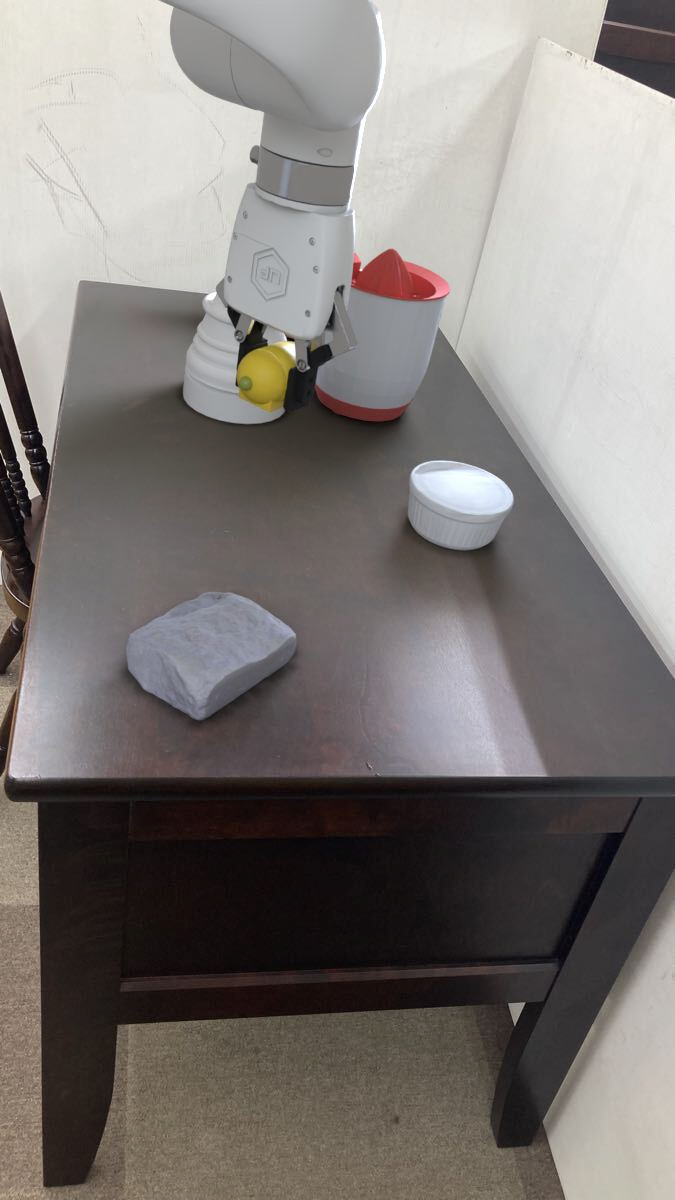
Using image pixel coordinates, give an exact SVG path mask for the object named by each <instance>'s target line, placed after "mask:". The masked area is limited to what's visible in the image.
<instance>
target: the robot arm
mask: <svg viewBox="0 0 675 1200" xmlns="http://www.w3.org/2000/svg"><path fill="white" fill-rule="evenodd" d="M158 1H159V2H161V3H164V4H166V5H169V6H171V7H172V12H171V16H170V23H169V37H170V39H169V40H170V44H171V49H172V53H173V55H174V58H175V61H176V63H177V65H178V67H179V68H180V69H181V71H182V73H183V74H184V75H185V76H186V78H187V79H188V80H189V81H190V82H191V83H192V84H193V85H195V86H196V87H197V88H198V89H200V90H201V91H203V92H205V93H206V94H209V95H211V96H213V97H215V98H217V99H220V100H223V101H225V102H229V103H231V104H235V105H238V106H241V107H244V108H247V109H250V110H253V111H258V112H261V113H263V116H262V117H263V118H262V126H261V133H260V134H261V135H260V141H259V142H260V143H259V145H258V144H255V145H253V146H252V147H251V149H250V152H249V161H250V162H251V163H253V164H255V165H256V166H257V167H256V173H255V182H250V183H247V184H246V186H245V189H244V191H243V195H242V198H241V200H240V203H239V206H238V209H237V213H236V217H235V221H234V225H233V229H232V233H231V238H230V242H229V248H228V253H227V259H226V265H225V272H224V277H223V278H222V279H221V280H220V281H219V282H218V284H216V286H215V292H217V294H218V296H219V298H220V299H221V301H222V303H223V304H224V306H225V308H227V313H228V316H229V318H230V320H231V322H232V324H233V326H234V328H235V332H234V337H235V339H236V341H237V342H239V343H240V344H239V353H238V361H237V370H238V366H239V364H240V362H241V360H242V359H243V358H244V357H245V356H246V355H247V354H248V353H249V352H252V351H253V350H256V349H259V348H262V347H265V346H268V343H267V341H268V340H267V339H265V338H263V335H264V333H265V330H266V328H267V326H269V327H271V328H273V329H275V330H278V331H280V332H282V333H284V334H287V335H289V336H291V337H294V339H293V340H294V342H295V357H296V366H295V367H292V368H290V370H289V373H288V379H287V387H286V392H285V398H284V404H283V408H284V410H285V412H287V413H289V414H290V413H293V412H296V411H299V410H300V409H303V408H306V407H309V405H310V404H311V402H312V400H313V398H314V393H315V390H316V388H315V383H316V378H317V372H318V367H319V366H322V365H324V364H325V363H326V362H328V361H329V360H331V359H333V358H334V357H336V356H338V355H340V354H343V353H346V352H348V351H351V350H353V349H355V348H356V347H357V344H358V343H357V339H356V336H355V333H354V331H353V328H352V325H351V322H350V319H349V316H348V313H347V306H348V301H349V294H350V288H351V280H352V271H353V261H354V253H355V245H356V243H355V241H356V217H355V215H356V213H355V210H354V209H352V208H351V207H350V205H351V199H352V194H353V189H354V183H355V177H356V172H357V167H358V160H359V155H360V149H361V144H362V140H363V139H362V137H363V133H364V127H365V122H366V117H367V115H368V113H369V112H370V110H372V108H373V107H374V104H375V103H376V100H377V98H378V96H379V94H380V91H381V88H382V84H383V79H384V76H385V75H384V74H385V68H386V47H385V46H386V45H385V39H384V33H383V29H382V19H381V13H380V11H379V9H378V7H377V5H376V4H375V3H374V2H373V0H158ZM325 330H326V331H330V332H332V333H333V340H332V341H331V342H329V343H327V344H325ZM310 340H311V342H310ZM235 385H236V386H237V387H239V386H238V382H237V374H236V382H235Z"/></svg>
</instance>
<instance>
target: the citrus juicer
mask: <svg viewBox="0 0 675 1200" xmlns="http://www.w3.org/2000/svg"><path fill="white" fill-rule="evenodd" d="M361 266H362V261H361V259H360V257H359V256H358V254H357V252H354V261H353V271H352V280H351V288H350V294H349V301H348V306H347V313H348V316H349V319H350V322H351V325H352V328H353V331H354V333H355V336H356V339H357V343H358V344H357V347H356V348H355V349H353V350H351V351H348V352H346V353H343V354H340V355H338V356H336V357H334V358H333V359H331V360H329V361H328V362H326V363H325V364H324V365H322V366H319V367H318V372H317V378H316V383H315V392H316V396H317V398H318V400H319V401H320V402H321V404H323V405H324V406H325V407H327V408H328V409H329V410H331V411H332V412H333V413H334V414H336V415H340V416H344V417H348V418H351V419H356V420H359V421H360V420H361V421H365V422H386V421H393V420H395V419H398V418H399V417H401V416H402V415H403V413H404V412H405V411H406V410H407V409H408V407H409V406H410V404H411V403H412V402H413V399H414V398H415V395H416V393H417V391H418V390H419V388H420V386H421V384H422V382H423V380H424V379H425V378H424V377H425V375H426V374H427V370H428V368H429V363H430V361H431V358H432V353H433V349H434V345H435V341H436V338H437V334H438V330H439V326H440V322H441V317H442V315H443V311H444V306H445V303H446V298H447V297H448V296H449V294H450V292H451V287H450V284H449V283H448V281H447V280H446V279H445V278H443V277H442V276H440V275H439V273H436V272H434V271H432V270H430V269H428V268H426V267H424V266H422V265H418V264H416V263H413V262H410V261H405V260H403V258H402V257H401V255H400V254H399V252H398V250H397V249H395V248H393V247H392V248H387V249H386V250H384V251H383V252H381V253H379V254H378V255H377V256H376V257H374V258H373V259H372V260H370V261H369V262H368V263H367V264H366V265H365V266H364V267H363V268H362V269H363V270H362V271H360V269H361ZM332 340H333V333H332V332H330V331H326V330H325V344H327V343H329V342H331V341H332Z"/></svg>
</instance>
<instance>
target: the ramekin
mask: <svg viewBox="0 0 675 1200" xmlns="http://www.w3.org/2000/svg"><path fill="white" fill-rule="evenodd" d="M408 487H409V493H408V503H407V504H408V505H407V517H408V520H409V522H410V524H411V526H412V528H413V529H414V531H415V532H416V533H417V534H418V535H419V536H420V537H422V538H423V539H424V540H426V541H428V542H430V543H432V544H434V545H437V546H439V547H442V548H446V549H451V550H454V551H474V550H478V549H481V548H483V547H484V546H486V545H488V544H490V543H491V542H493V540H494V539H495V538H496V535H497V534H498V532H499V530H500V528H501V526H502V524H503V522H504V520H505V518H506V517H508V515H509V514H510V512H511V511H512V508H513V505H514V503H515V501H514V499H515V498H514V494H513V492H512V490H511V488H510V487H509V486H508V485H507V484H506V483H505V482H504V481H503V480H502V479H501V478H500V477H497V476H496V475H494V474H493V473H491V472H489V471H486V470H485V469H482V468H480V467H478V466H475V465H471V464H467V463H465V462H464V463H463V462H459V461H453V460H429V461H426V462H422V463H420V464H418V465H416V466H415V467H413V469H412V471H411V473H410V475H409V479H408Z"/></svg>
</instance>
